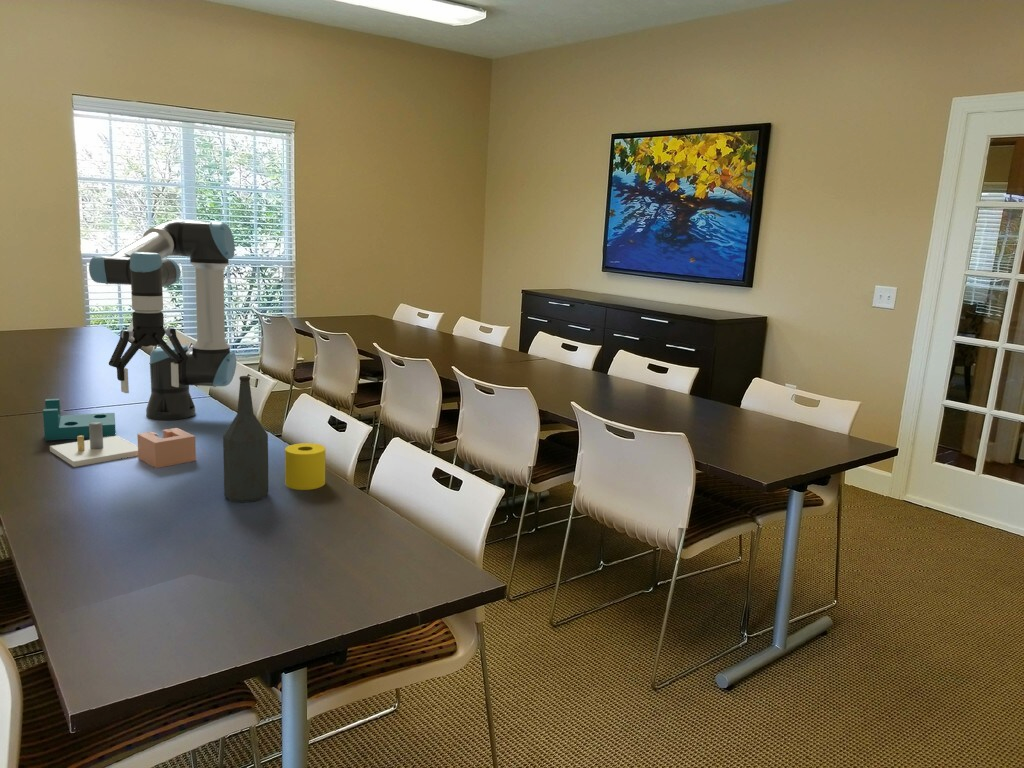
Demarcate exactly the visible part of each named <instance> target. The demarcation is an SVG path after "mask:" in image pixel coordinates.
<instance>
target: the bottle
mask: <svg viewBox="0 0 1024 768" xmlns="http://www.w3.org/2000/svg"><path fill="white" fill-rule="evenodd" d="M250 380H251V377H250V375H241V376H239V391H238V399H237V400H238V401H237V413H236V415H235V417H234V418H233V420H232V421H231V423H230V425H229V426H228V428H227V429H226V431H225V432H224V434H223V436H222V440H223V441H222V444H223V445H222V447H223V449H222V450H223V451H222V452H223V487H224V488H223V490H224V491H223V492H224V493H223V494H224V496H225V498H226V499H228V501H231V502H234V503H250V502H258V501H261V500H262V499H264V498H265V497H266V496H267V495H268V493H269V435H268V434H269V433H268V432H267V431H266V429H265V428H264V426H263V425H262V424H261V422H260V421H259V420H258V418H257V416H256V415H255V414H254V407H253V397H252V391H251V383H250Z"/></svg>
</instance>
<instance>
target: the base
mask: <svg viewBox="0 0 1024 768" xmlns="http://www.w3.org/2000/svg"><path fill="white" fill-rule="evenodd" d="M89 434H90V438H89V439H87V440H85V438H84V436H77V438H76V439H77V441H73V442H66V443H60V444H54V445H49V452H51V453H52V454H54V455H55V456H57V457H58V458H60V459H61V460H63V461H64V462H65V463H67V464H69V465H70V466H72V467H73V468H76V467H81V466H87V465H94V464H98V463H99V464H100V463H105V462H110V461H115V460H116V461H117V460H122V459H126V458H127V457H128V458H133V457H137V456H138V445H136V444H135V443H132V442H130V441H129V440H127V439H124V438H123V437H122V436H119V435H116V436H105V437H103V432H102V423H101V422H92V423H89ZM121 458H122V459H121Z"/></svg>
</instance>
